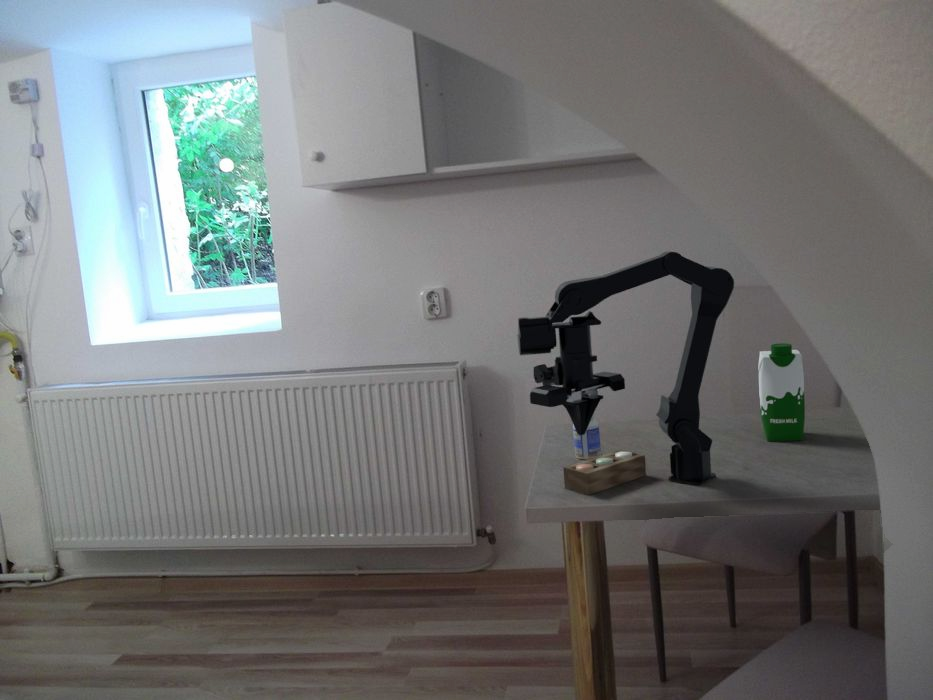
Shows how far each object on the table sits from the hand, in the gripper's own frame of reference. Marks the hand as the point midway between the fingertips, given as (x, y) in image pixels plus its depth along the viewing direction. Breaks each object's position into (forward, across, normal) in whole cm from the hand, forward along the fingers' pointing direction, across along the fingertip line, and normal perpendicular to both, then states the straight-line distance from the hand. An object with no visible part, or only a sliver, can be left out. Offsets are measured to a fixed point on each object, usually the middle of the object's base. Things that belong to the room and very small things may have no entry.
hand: (581, 434), depth 154 cm
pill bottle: (+10, -15, -15) cm, 23 cm away
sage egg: (+8, -5, 0) cm, 10 cm away
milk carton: (+10, -50, +8) cm, 52 cm away
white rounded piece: (+8, -10, 0) cm, 13 cm away
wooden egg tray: (+10, -5, 0) cm, 11 cm away
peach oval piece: (+8, 0, 0) cm, 8 cm away
